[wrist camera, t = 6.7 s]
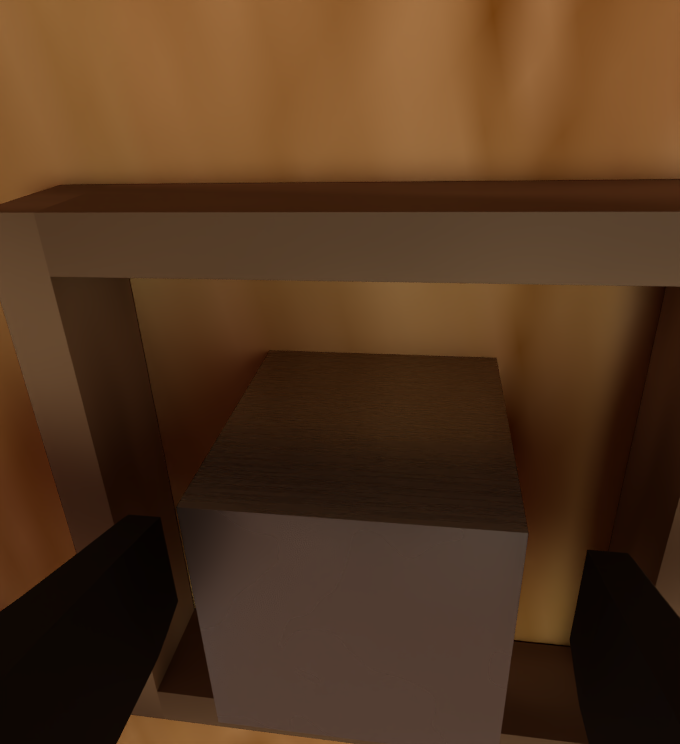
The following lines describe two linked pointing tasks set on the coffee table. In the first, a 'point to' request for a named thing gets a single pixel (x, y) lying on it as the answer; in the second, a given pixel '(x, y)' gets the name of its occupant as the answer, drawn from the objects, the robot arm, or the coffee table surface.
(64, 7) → the coffee table surface
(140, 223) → the square frame
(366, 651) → the grey cube
